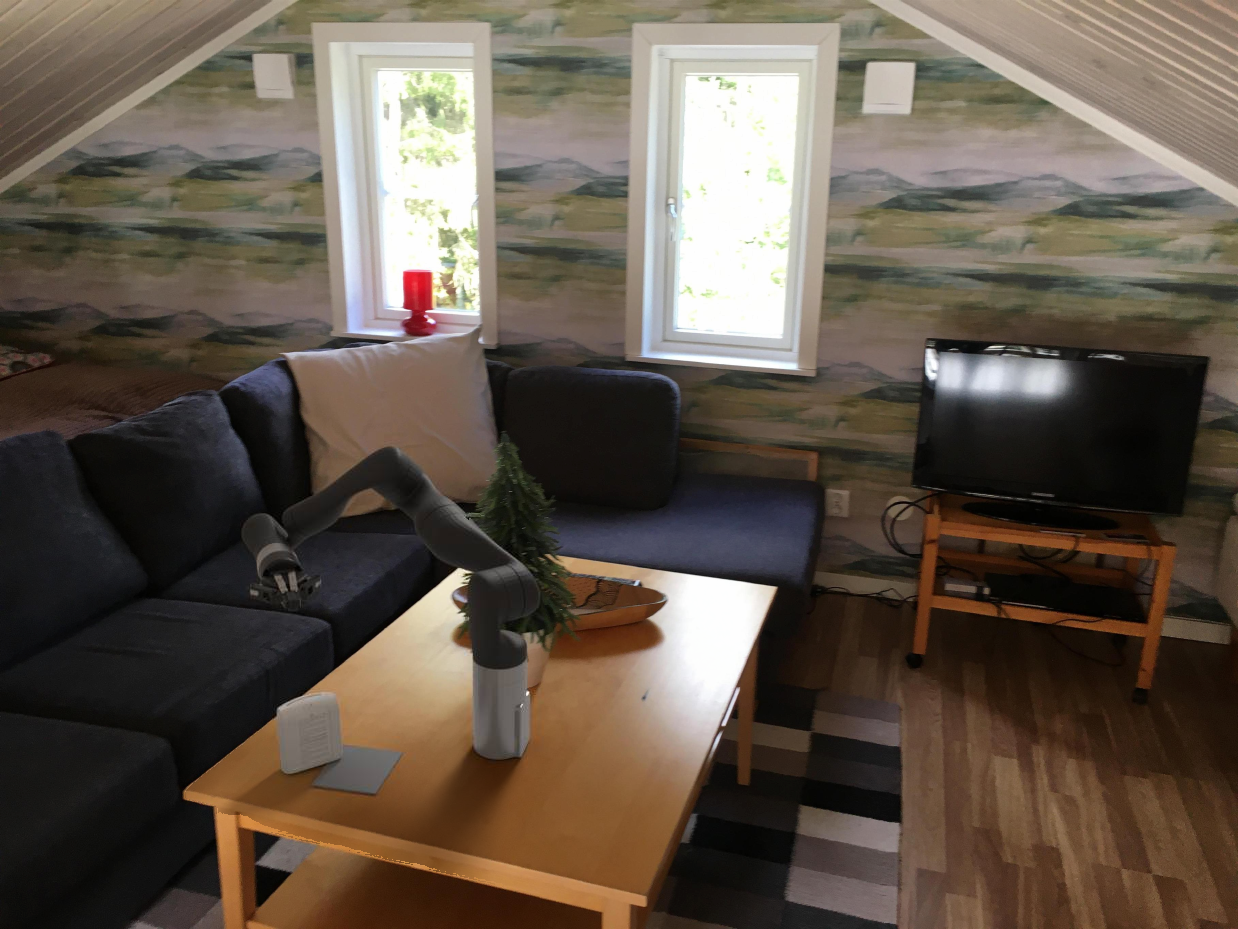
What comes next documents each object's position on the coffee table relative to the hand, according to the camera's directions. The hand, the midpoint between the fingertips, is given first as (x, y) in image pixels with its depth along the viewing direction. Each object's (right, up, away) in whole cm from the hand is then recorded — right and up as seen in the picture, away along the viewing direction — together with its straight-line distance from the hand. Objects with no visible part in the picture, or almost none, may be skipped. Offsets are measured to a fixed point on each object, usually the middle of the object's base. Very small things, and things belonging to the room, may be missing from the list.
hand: (293, 605), depth 179 cm
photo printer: (+5, -26, -7) cm, 27 cm away
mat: (+13, -26, -8) cm, 30 cm away
